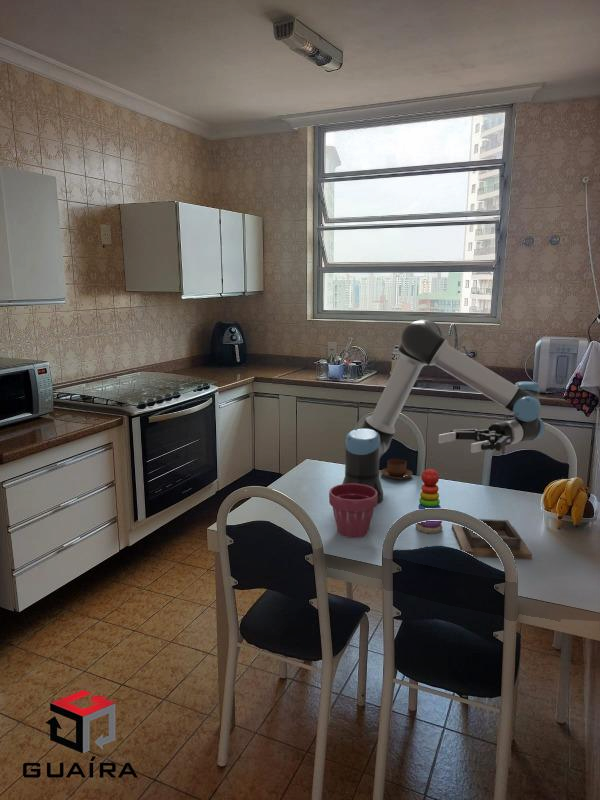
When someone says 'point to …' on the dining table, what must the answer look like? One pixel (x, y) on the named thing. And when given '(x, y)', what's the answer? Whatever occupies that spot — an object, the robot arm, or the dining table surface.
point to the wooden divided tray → (482, 548)
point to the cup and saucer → (396, 469)
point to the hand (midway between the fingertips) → (454, 443)
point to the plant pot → (353, 508)
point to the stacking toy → (429, 501)
